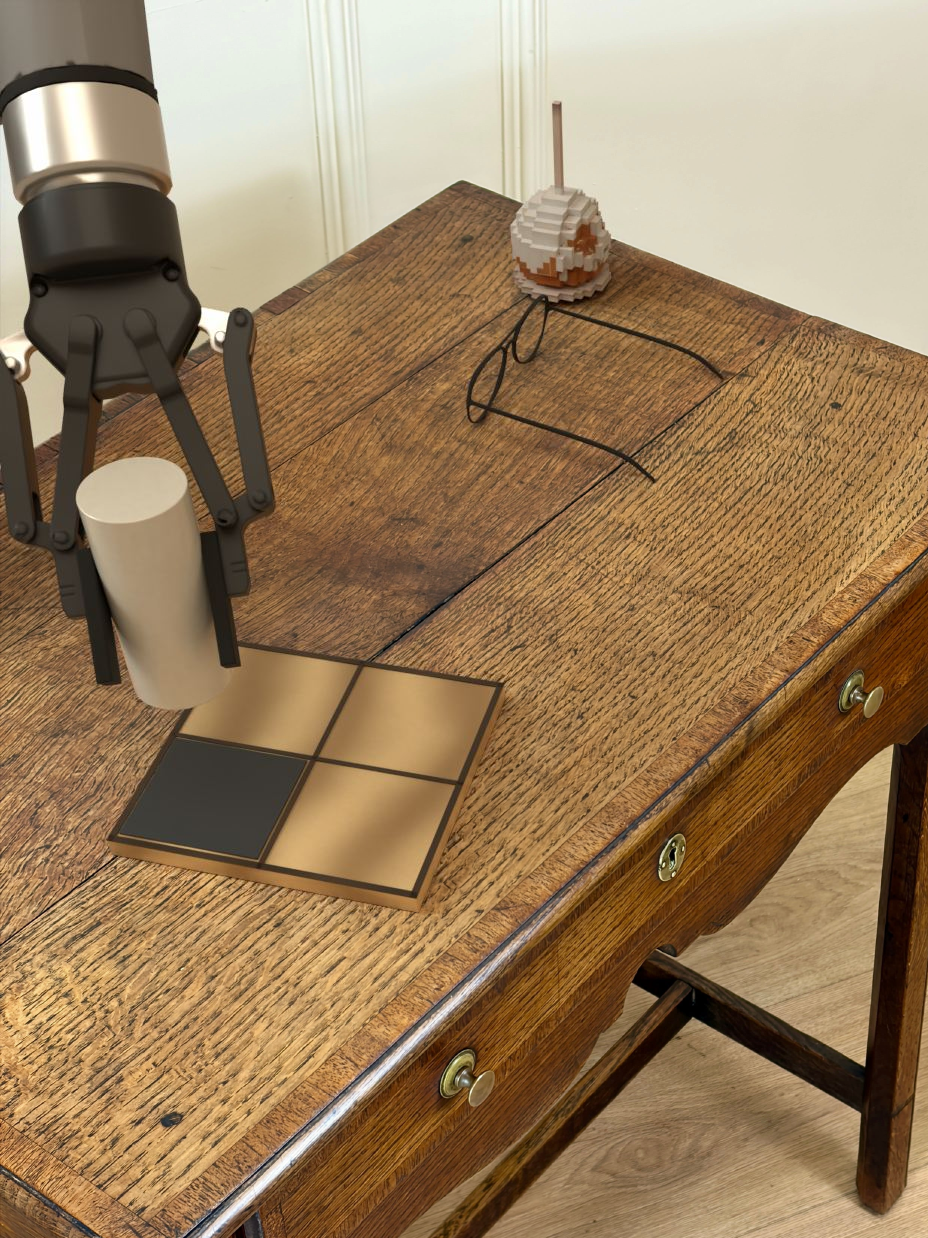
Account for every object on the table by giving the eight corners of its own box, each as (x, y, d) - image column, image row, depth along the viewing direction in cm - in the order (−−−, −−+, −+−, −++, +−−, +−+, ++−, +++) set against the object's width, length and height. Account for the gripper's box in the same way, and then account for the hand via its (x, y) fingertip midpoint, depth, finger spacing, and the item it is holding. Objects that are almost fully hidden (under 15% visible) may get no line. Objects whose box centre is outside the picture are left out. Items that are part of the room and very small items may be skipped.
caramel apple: (589, 314, 127) (587, 131, 116) (500, 298, 129) (489, 117, 118) (622, 267, 132) (622, 88, 121) (535, 253, 134) (528, 75, 123)
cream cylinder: (116, 702, 82) (55, 514, 73) (158, 636, 85) (105, 450, 76) (209, 717, 81) (159, 529, 72) (248, 650, 84) (205, 463, 75)
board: (111, 854, 88) (105, 839, 87) (230, 654, 100) (226, 638, 99) (418, 913, 85) (416, 897, 84) (505, 698, 96) (504, 682, 95)
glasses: (543, 339, 124) (547, 283, 121) (720, 397, 121) (730, 341, 117) (462, 437, 115) (464, 380, 112) (651, 502, 112) (660, 445, 108)
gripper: (288, 207, 82) (357, 652, 82) (-74, 249, 80) (-1, 704, 80) (278, 153, 74) (354, 643, 75) (-121, 197, 73) (-41, 700, 73)
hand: (170, 673), depth 78 cm, fingers closed on cream cylinder, 5 cm apart
